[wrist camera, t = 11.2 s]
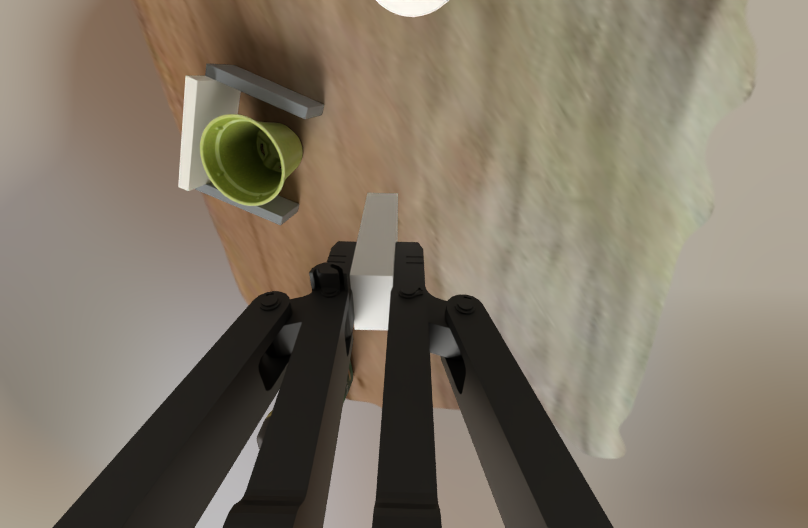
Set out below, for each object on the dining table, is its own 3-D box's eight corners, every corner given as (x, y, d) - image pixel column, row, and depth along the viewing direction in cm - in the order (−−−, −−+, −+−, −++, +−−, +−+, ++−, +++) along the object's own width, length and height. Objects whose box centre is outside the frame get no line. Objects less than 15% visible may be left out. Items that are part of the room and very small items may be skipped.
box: (233, 65, 41) (186, 62, 34) (324, 104, 42) (295, 110, 35) (219, 179, 48) (177, 196, 41) (297, 212, 49) (268, 234, 42)
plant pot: (256, 187, 48) (216, 208, 40) (234, 111, 44) (185, 118, 36) (322, 183, 46) (293, 203, 39) (305, 103, 42) (270, 109, 34)
